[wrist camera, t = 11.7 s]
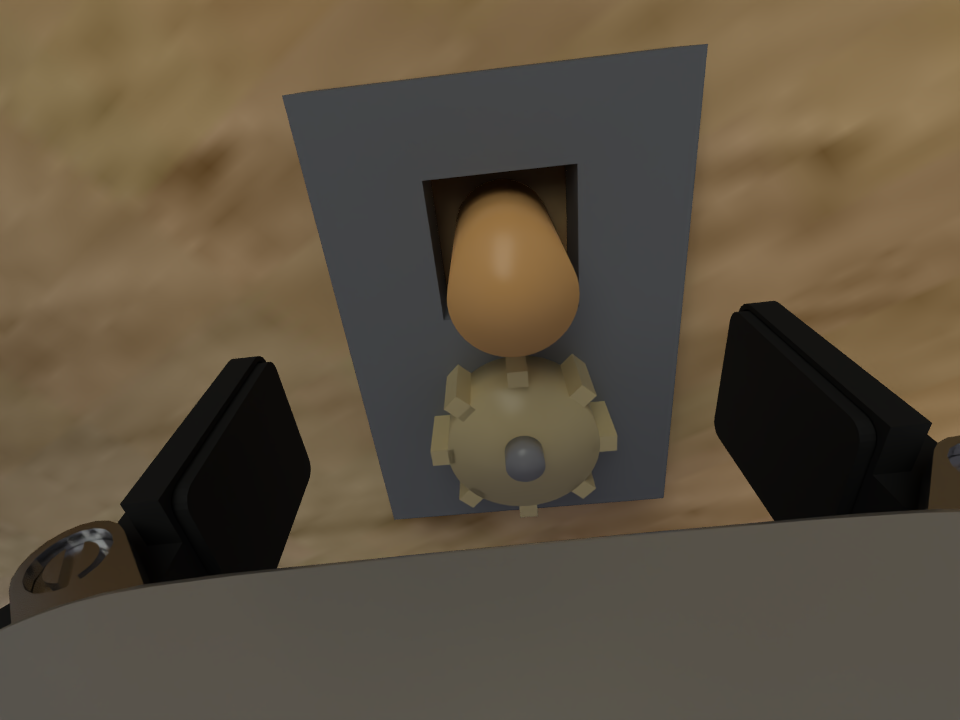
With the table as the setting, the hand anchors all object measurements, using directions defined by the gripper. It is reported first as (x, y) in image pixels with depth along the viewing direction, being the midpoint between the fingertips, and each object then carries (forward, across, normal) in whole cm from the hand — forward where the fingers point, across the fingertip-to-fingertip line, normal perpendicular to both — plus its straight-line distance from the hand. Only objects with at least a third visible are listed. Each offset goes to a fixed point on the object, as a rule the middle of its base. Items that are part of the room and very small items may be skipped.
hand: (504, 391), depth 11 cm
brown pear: (+13, -1, 0) cm, 13 cm away
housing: (+13, -1, +4) cm, 14 cm away
